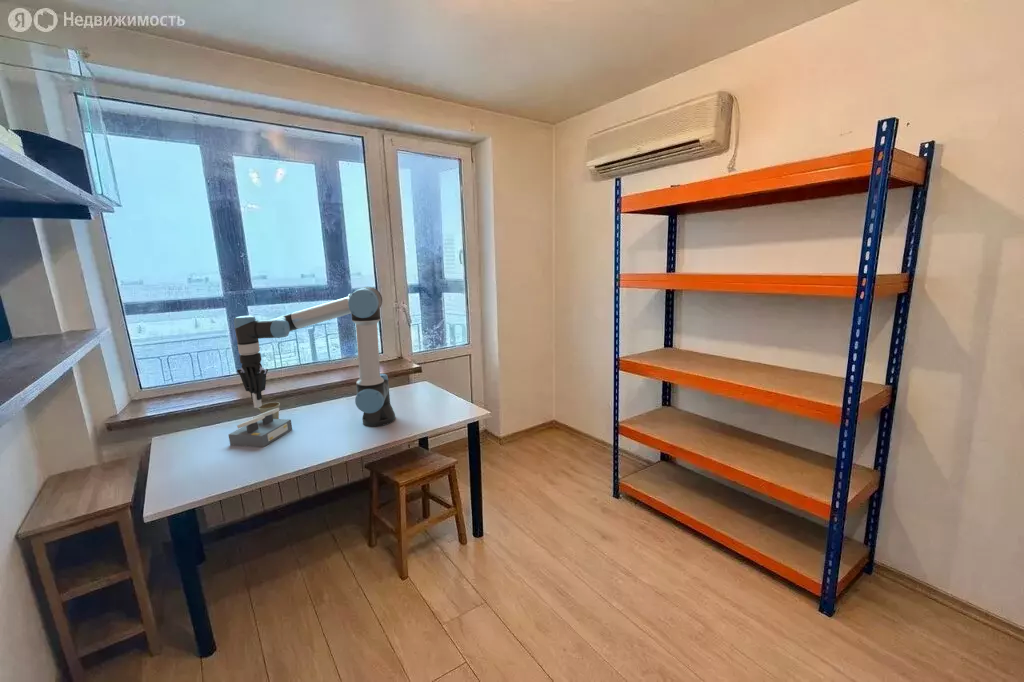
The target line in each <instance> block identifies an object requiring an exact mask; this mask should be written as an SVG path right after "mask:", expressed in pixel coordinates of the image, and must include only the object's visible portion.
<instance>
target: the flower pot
mask: <svg viewBox="0 0 1024 682" xmlns="http://www.w3.org/2000/svg"><path fill="white" fill-rule="evenodd" d="M280 405H281V403H280V402H278V401H272V402H271V401H270V402H266V403H262V406H261V407H258V408H257V409H258V410H259V412H260V414H262V413H265V412H267V411H270V410H273V409H276V408H279V409H280ZM272 415H273V419H280V411H278V412H276V413H274V414H272Z"/></svg>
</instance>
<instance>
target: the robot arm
mask: <svg viewBox="0 0 1024 682" xmlns="http://www.w3.org/2000/svg"><path fill="white" fill-rule="evenodd" d="M382 305H383V296H382V294H381V293H380V291H379V290H378V289H377V288H376V287H375V288H374V287H371V286H365V287H361V288H358V289H355V290H354V291H353V292H351V293H348V295H347V296H346V297H343V298H339V299H336V300H332V301H328V302H325V303H321V304H318V305H315V306H312V307H308V308H304V309H300V310H297V311H294V312H290V313H287V314H283V315H279V316H278V317H274V318H272V319H263V320H258V319H256V317H255V316H254V315H241V316H236V317H235V318H234V320H233V323H234V324H233V325H234V332H235V337H236V343H237V344H236V345H237V350H238V354H239V363H240V364H241V368H239V369H237V373H238V375H239V376H240V379H241V381H242V384H243V387H244V390H245V392H249V393H250V397H251V401H253V402H252V403H253V408H254V409H258V407H261V406H262V404H263V403H262V399H263V396H262V392H263V391H265V390H266V384H267V383H266V382H267V373H268V371H269V369H268V368H264V367H263V365H262V363H261V361H262V354H261V352H260V351H261V349H260V342H259V339H276V338H277V339H280V338H287V337H288V336H289V334H290V332H292V331H296V330H299V329H302V328H306V327H308V326H313V325H316V324H319V323H323V322H326V321H330V320H333V319H337V318H340V317H344V316H347V315H351V322H352V323H354V324H355V329H356V344H357V357H358V359H357V360H358V373H359V378H358V379H357V380H356V381H355V383H356V395H355V402H354V403H355V406H356V407H357V409H358V410H359V411H361V412H362V413H363V414H362V424H363V425H364V426H365V427H382V426H385V425H386V426H387V425H388V424H391V423H394V421H395V420H396V413H395V411H394V408H393V407H392V404H391V398H390V396H391V395H390V386H389V380H390V379H389V378H388V374H386V373H381V368H380V353H379V351H380V350H379V336H378V335H379V333H378V323H379V322H380V321H381V307H382Z"/></svg>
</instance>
